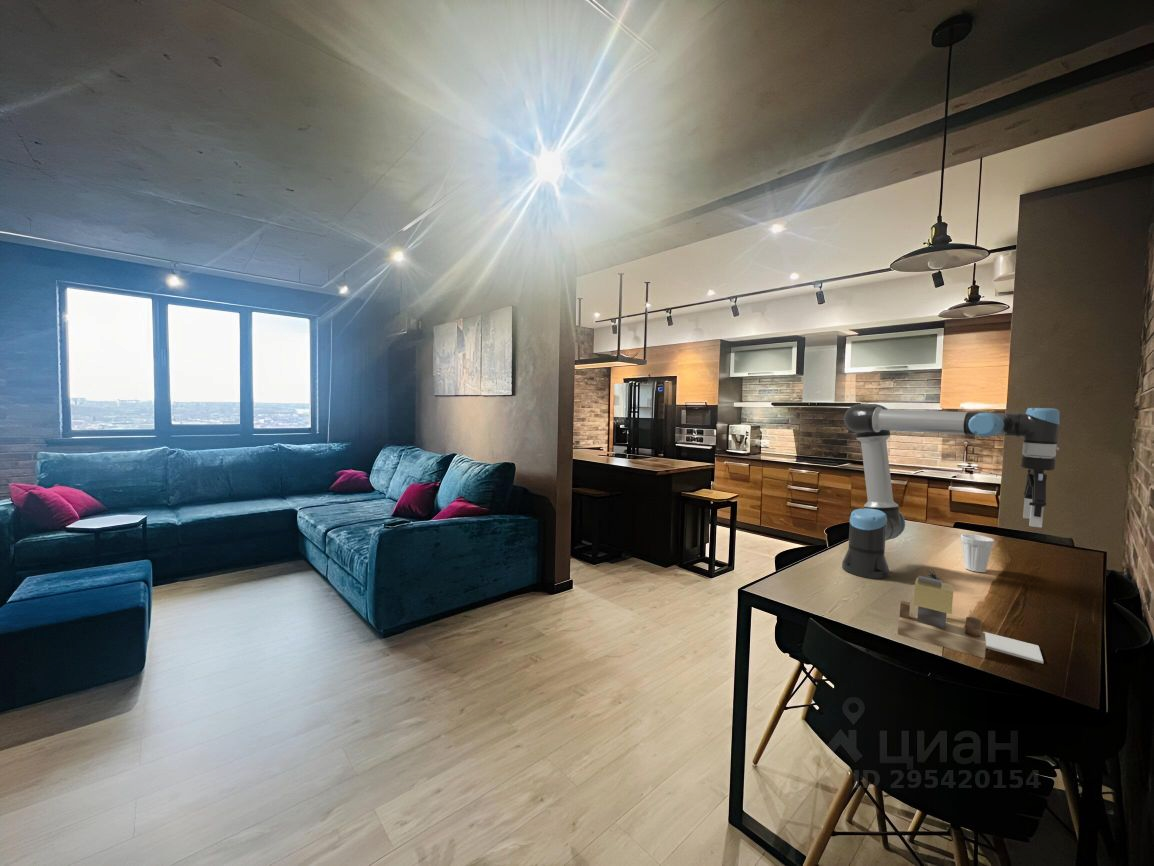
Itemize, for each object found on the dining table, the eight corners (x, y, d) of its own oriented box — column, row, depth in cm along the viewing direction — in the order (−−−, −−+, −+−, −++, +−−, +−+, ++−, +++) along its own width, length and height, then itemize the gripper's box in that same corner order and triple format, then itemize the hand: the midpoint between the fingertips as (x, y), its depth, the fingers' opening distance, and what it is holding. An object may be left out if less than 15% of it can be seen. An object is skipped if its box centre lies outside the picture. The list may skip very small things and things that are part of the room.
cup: (988, 569, 180) (991, 536, 179) (994, 577, 172) (997, 543, 171) (956, 564, 185) (958, 532, 185) (960, 571, 177) (963, 538, 176)
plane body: (897, 633, 126) (899, 602, 125) (900, 624, 131) (902, 594, 131) (984, 658, 114) (987, 623, 114) (983, 647, 120) (986, 614, 119)
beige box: (913, 604, 124) (915, 579, 123) (915, 598, 128) (917, 573, 128) (951, 614, 119) (953, 587, 118) (951, 606, 123) (953, 580, 123)
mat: (983, 647, 120) (984, 645, 120) (982, 633, 127) (982, 631, 127) (1043, 663, 113) (1043, 661, 113) (1038, 647, 120) (1038, 645, 120)
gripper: (1064, 461, 132) (1056, 532, 134) (1047, 454, 152) (1041, 517, 153) (1028, 458, 137) (1021, 527, 138) (1016, 452, 156) (1010, 513, 158)
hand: (1031, 522), depth 146 cm, fingers open, 13 cm apart
